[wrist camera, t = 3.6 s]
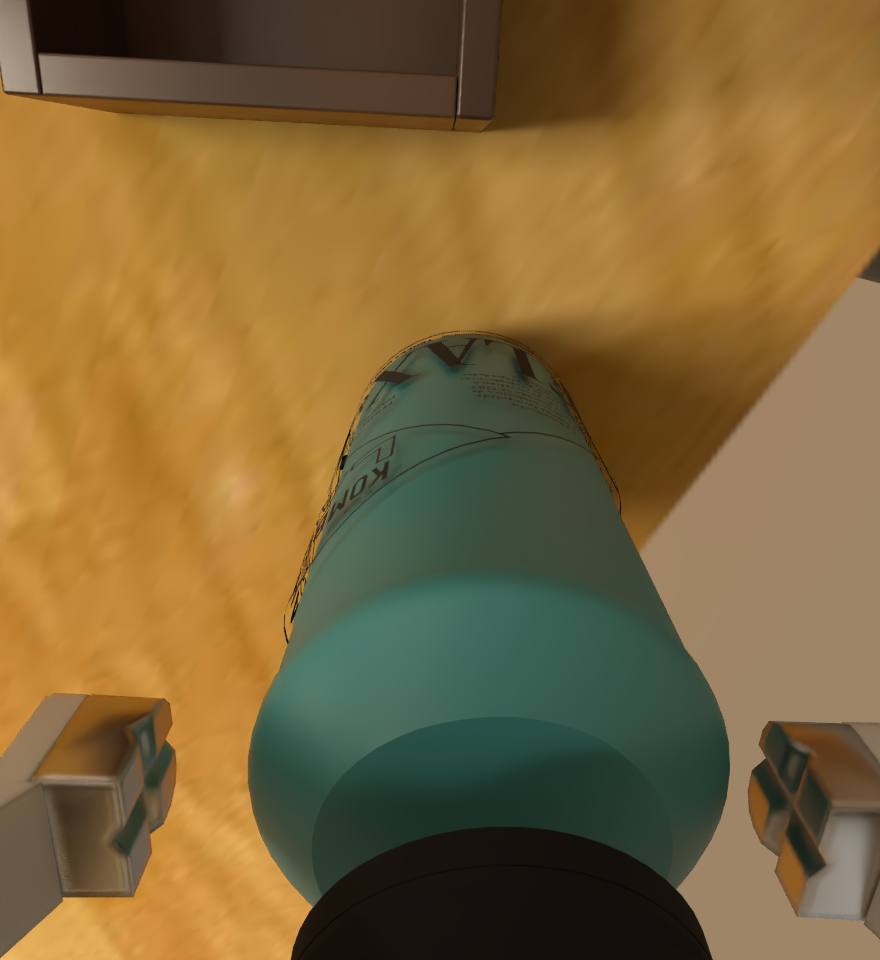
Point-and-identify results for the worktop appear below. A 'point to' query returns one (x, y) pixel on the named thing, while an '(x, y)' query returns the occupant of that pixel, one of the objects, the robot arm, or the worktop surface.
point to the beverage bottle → (484, 692)
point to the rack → (260, 59)
